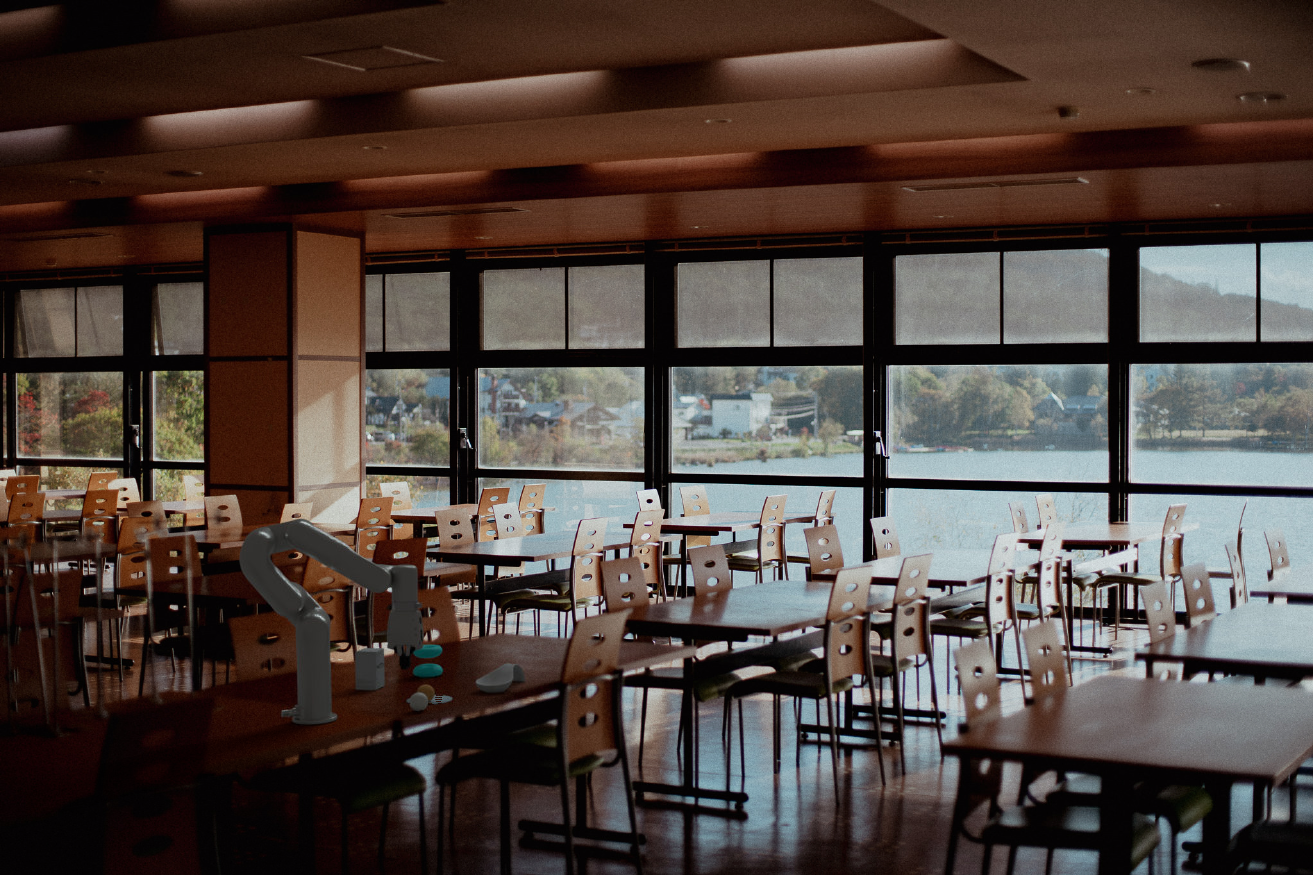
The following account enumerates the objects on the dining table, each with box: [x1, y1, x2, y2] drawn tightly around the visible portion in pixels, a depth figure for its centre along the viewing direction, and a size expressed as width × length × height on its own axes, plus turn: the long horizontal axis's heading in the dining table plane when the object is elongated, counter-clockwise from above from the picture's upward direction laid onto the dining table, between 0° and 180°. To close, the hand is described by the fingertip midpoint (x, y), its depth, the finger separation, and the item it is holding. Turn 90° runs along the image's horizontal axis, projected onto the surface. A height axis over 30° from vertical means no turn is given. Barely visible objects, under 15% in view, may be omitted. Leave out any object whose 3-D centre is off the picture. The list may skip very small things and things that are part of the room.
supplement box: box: [354, 647, 385, 691], centre depth 439 cm, size 7×7×13 cm
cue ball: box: [409, 692, 429, 712], centre depth 401 cm, size 6×6×6 cm
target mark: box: [406, 694, 453, 705], centre depth 417 cm, size 14×14×1 cm
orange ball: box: [416, 684, 436, 702], centre depth 414 cm, size 6×6×6 cm
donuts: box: [412, 644, 444, 678], centre depth 460 cm, size 10×10×10 cm
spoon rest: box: [475, 662, 526, 694], centre depth 436 cm, size 24×12×7 cm, turn 160°
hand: (405, 668), depth 396 cm, fingers closed
